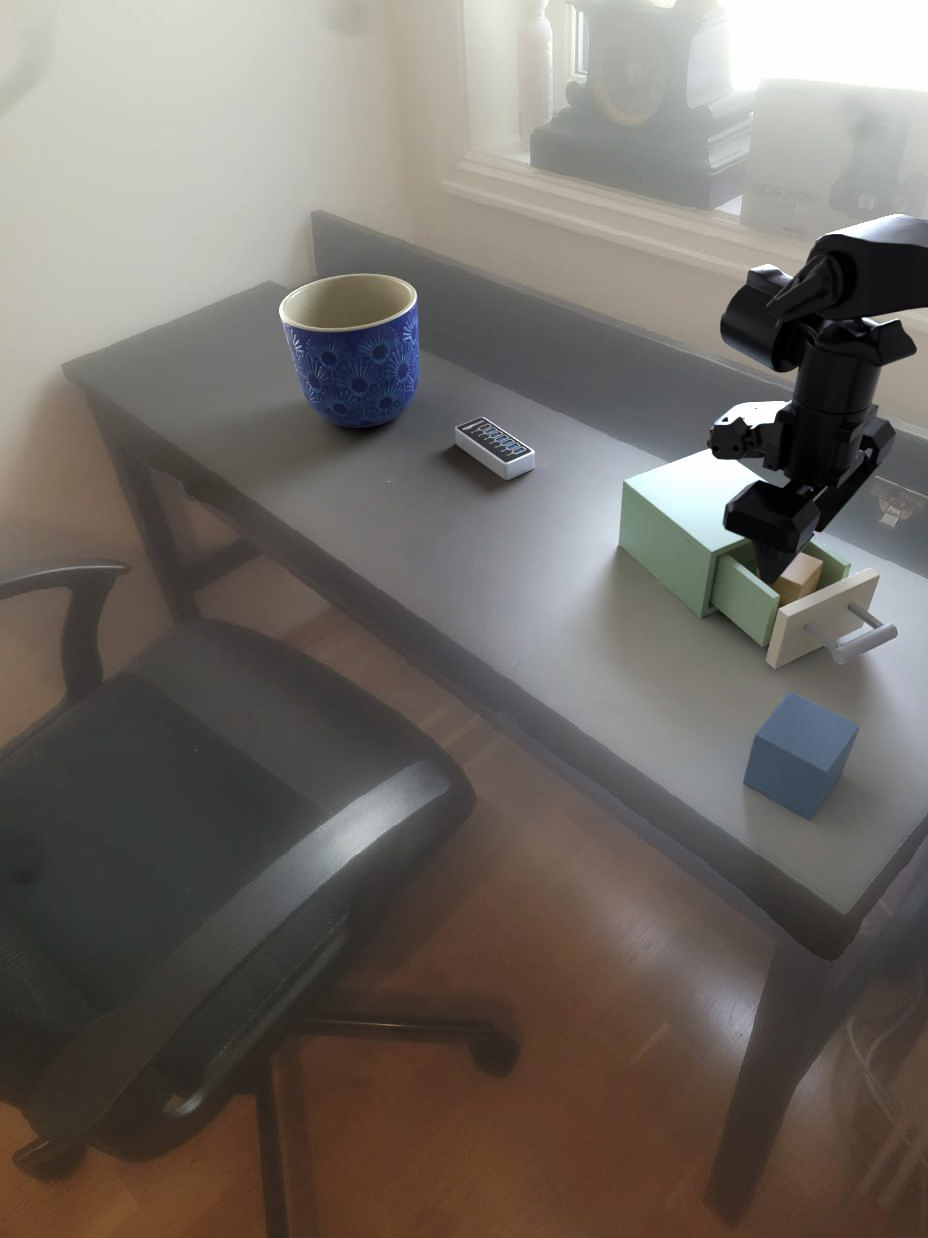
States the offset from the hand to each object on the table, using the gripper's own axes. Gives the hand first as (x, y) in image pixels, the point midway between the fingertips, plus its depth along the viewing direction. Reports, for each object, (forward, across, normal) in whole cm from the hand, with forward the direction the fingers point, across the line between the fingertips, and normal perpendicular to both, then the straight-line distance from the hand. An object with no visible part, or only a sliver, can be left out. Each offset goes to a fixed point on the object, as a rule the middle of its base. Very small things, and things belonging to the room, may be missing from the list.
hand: (792, 555), depth 76 cm
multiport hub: (+8, -6, -40) cm, 42 cm away
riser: (+8, +16, +10) cm, 20 cm away
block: (+6, 0, 0) cm, 6 cm away
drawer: (+7, 0, +1) cm, 7 cm away
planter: (+8, -4, -62) cm, 62 cm away
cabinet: (+8, -4, -10) cm, 13 cm away
